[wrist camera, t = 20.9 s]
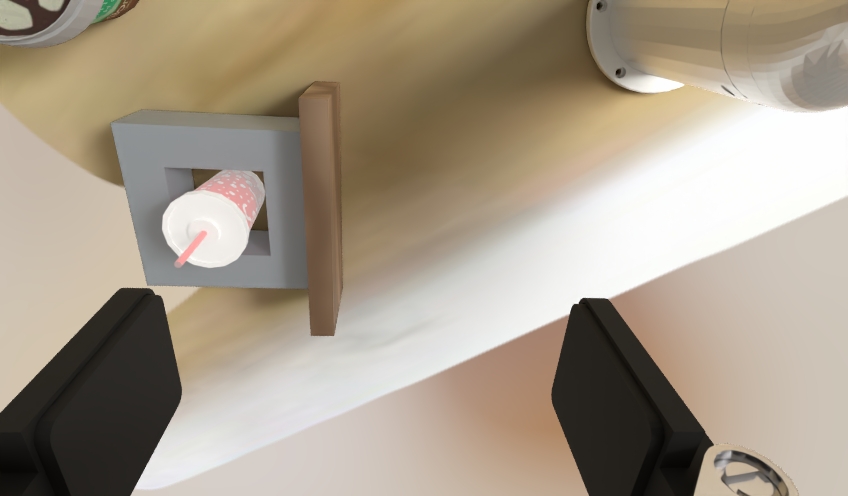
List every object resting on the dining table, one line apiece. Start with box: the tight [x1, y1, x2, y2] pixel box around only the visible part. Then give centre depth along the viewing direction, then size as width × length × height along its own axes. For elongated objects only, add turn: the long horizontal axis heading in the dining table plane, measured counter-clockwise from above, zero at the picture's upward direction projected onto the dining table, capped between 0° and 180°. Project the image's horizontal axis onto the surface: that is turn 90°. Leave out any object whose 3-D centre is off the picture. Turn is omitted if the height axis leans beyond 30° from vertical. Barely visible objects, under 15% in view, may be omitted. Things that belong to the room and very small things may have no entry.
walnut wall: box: [298, 81, 343, 336], centre depth 41 cm, size 2×20×8 cm, turn 176°
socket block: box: [110, 110, 308, 289], centre depth 41 cm, size 14×14×5 cm
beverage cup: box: [162, 170, 265, 268], centre depth 37 cm, size 6×6×14 cm
